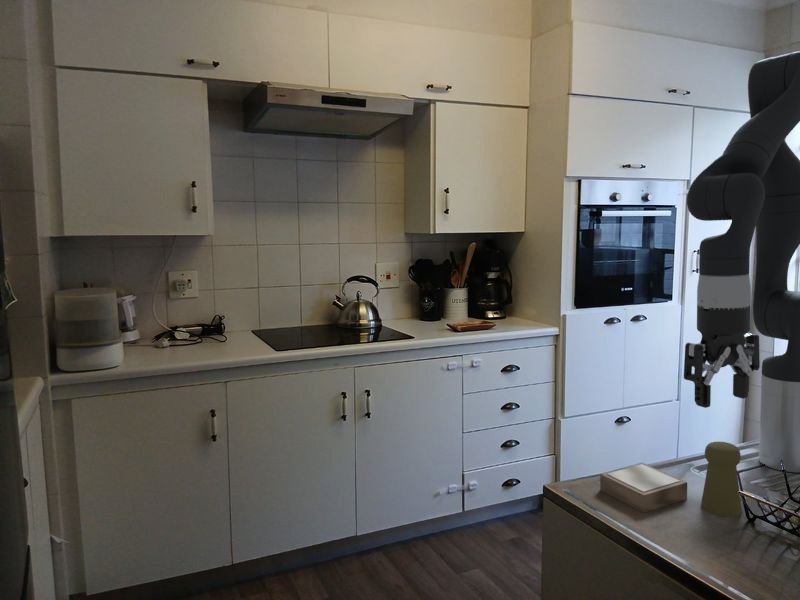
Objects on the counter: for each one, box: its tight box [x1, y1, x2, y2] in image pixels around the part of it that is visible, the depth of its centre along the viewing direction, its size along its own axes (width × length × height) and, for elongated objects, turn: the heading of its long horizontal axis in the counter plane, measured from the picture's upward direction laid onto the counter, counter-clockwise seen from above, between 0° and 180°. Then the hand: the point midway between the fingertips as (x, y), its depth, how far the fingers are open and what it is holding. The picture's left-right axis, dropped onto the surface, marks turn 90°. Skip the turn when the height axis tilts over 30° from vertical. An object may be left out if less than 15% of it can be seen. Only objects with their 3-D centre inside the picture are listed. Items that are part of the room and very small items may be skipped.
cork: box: [700, 441, 743, 518], centre depth 101 cm, size 6×6×11 cm
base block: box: [599, 462, 688, 514], centre depth 107 cm, size 10×10×3 cm
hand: (721, 401), depth 99 cm, fingers open, 8 cm apart
